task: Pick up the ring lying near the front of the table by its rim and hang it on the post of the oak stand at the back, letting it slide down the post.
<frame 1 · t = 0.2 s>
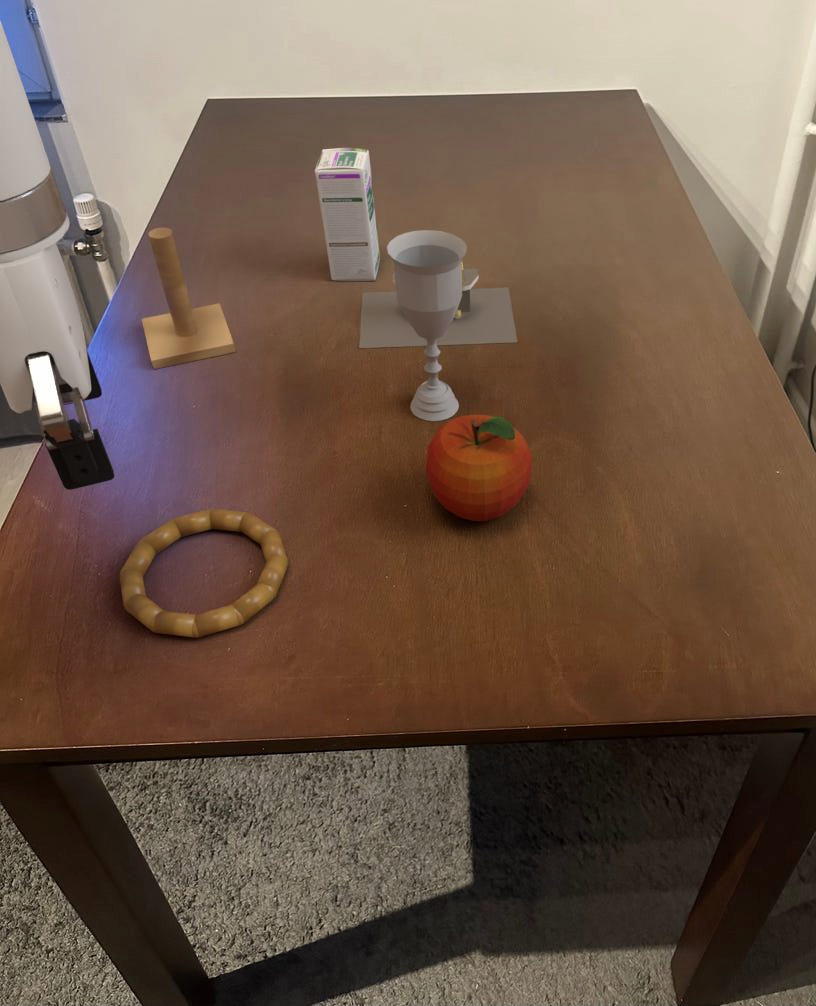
hand: (85, 438, 63), 17 cm above the table, tool pointing down, fingers open, 9 cm apart
post: (189, 339, 102), on the table
ring: (204, 569, 76), point 1 cm above the table
syrup box: (355, 271, 113), on the table
fruit: (478, 502, 83), on the table
chalice: (434, 407, 93), on the table
platform: (437, 317, 105), on the table
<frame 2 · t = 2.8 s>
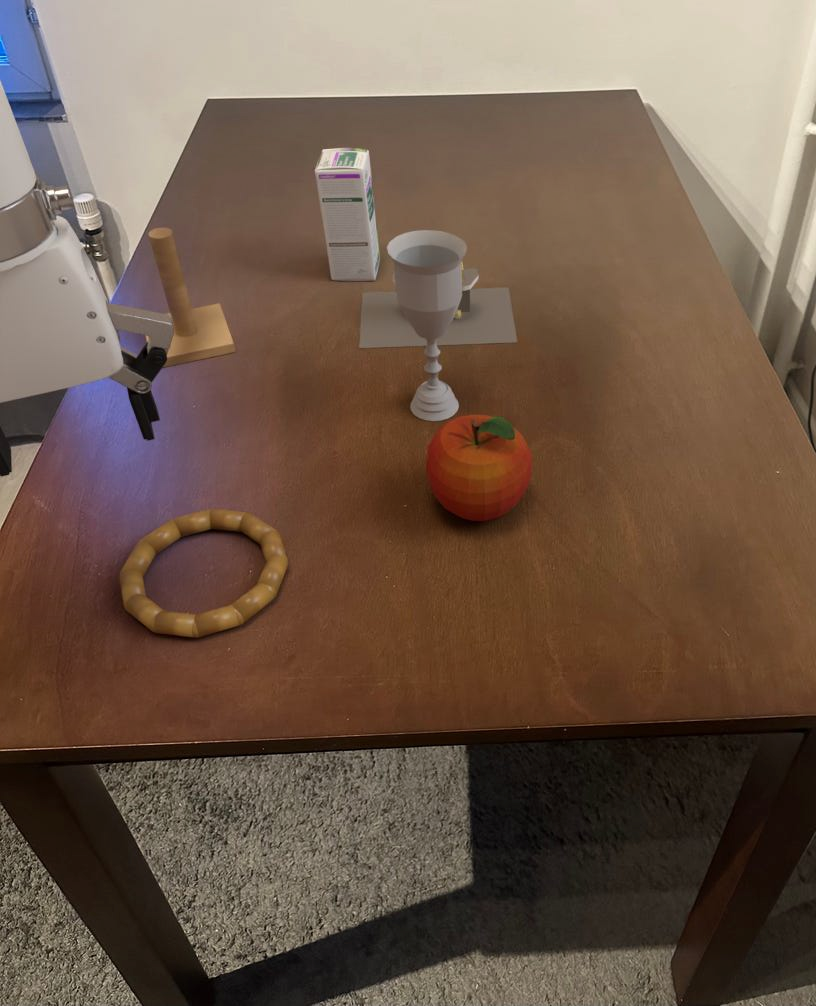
hand: (78, 445, 63), 16 cm above the table, tool pointing down, fingers open, 9 cm apart
nothing on the table moved.
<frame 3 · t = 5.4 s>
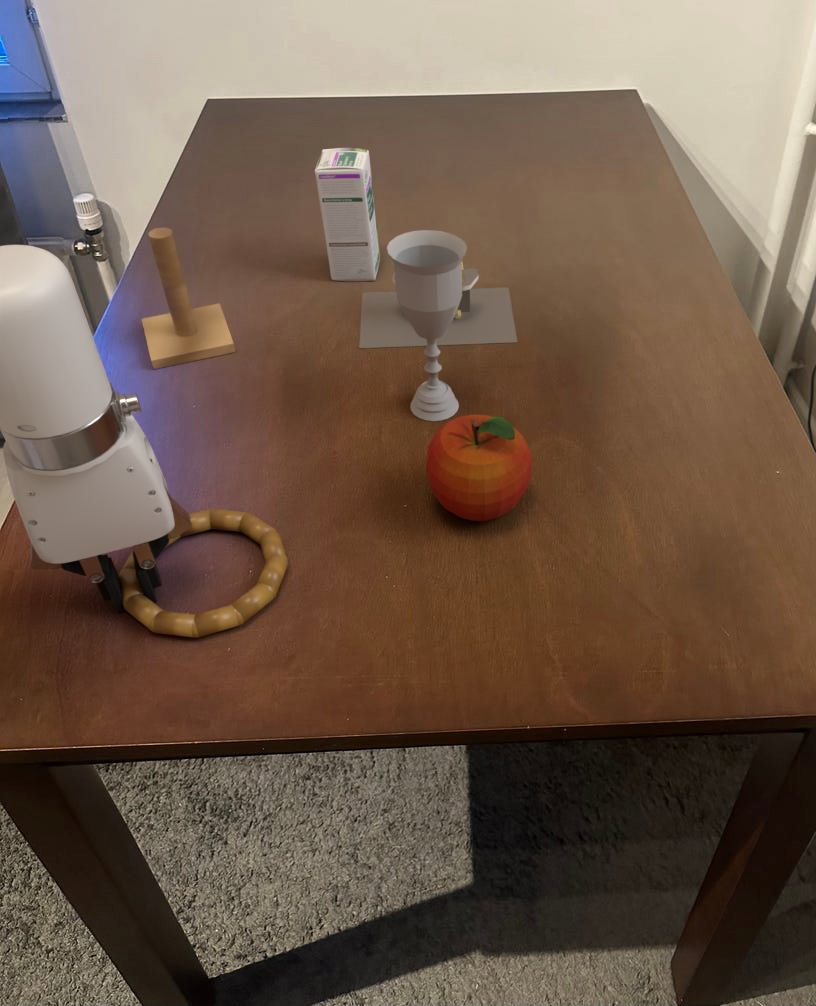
hand: (135, 594, 74), 0 cm above the table, tool pointing down, fingers closed on ring, 1 cm apart
ring: (204, 569, 76), point 1 cm above the table, touching gripper
everything else where it was.
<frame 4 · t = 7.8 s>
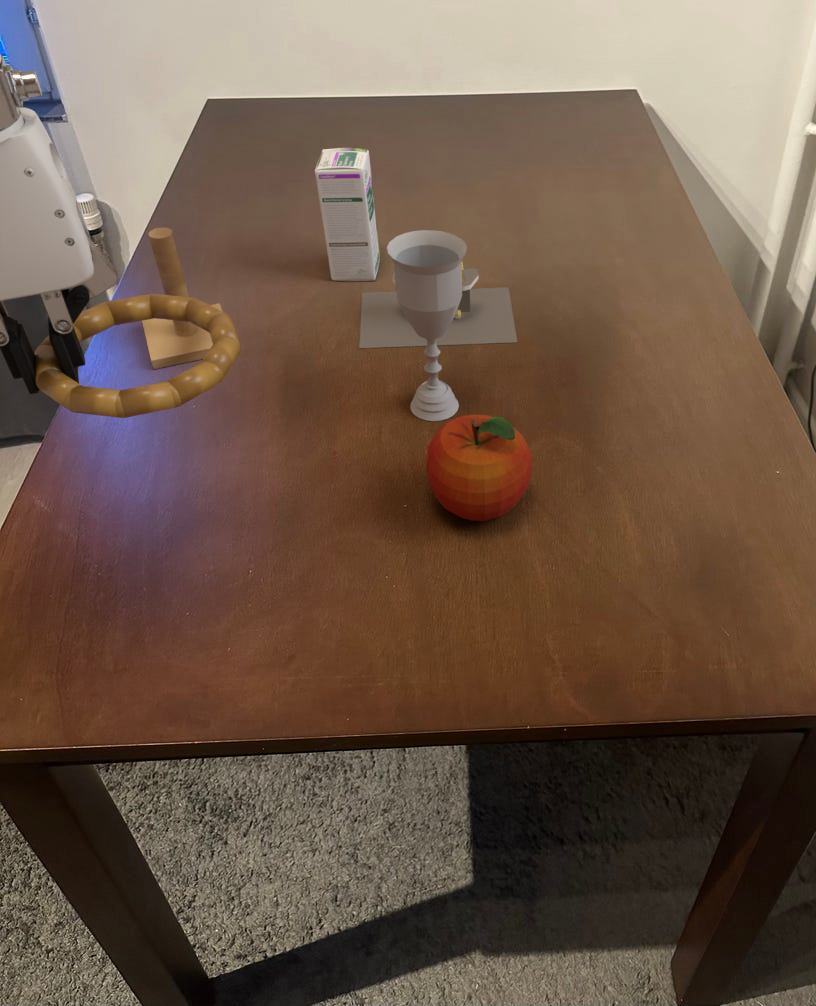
hand: (53, 376, 62), 21 cm above the table, tool pointing down, fingers closed on ring
ring: (139, 351, 63), point 22 cm above the table, touching gripper
everything else where it was.
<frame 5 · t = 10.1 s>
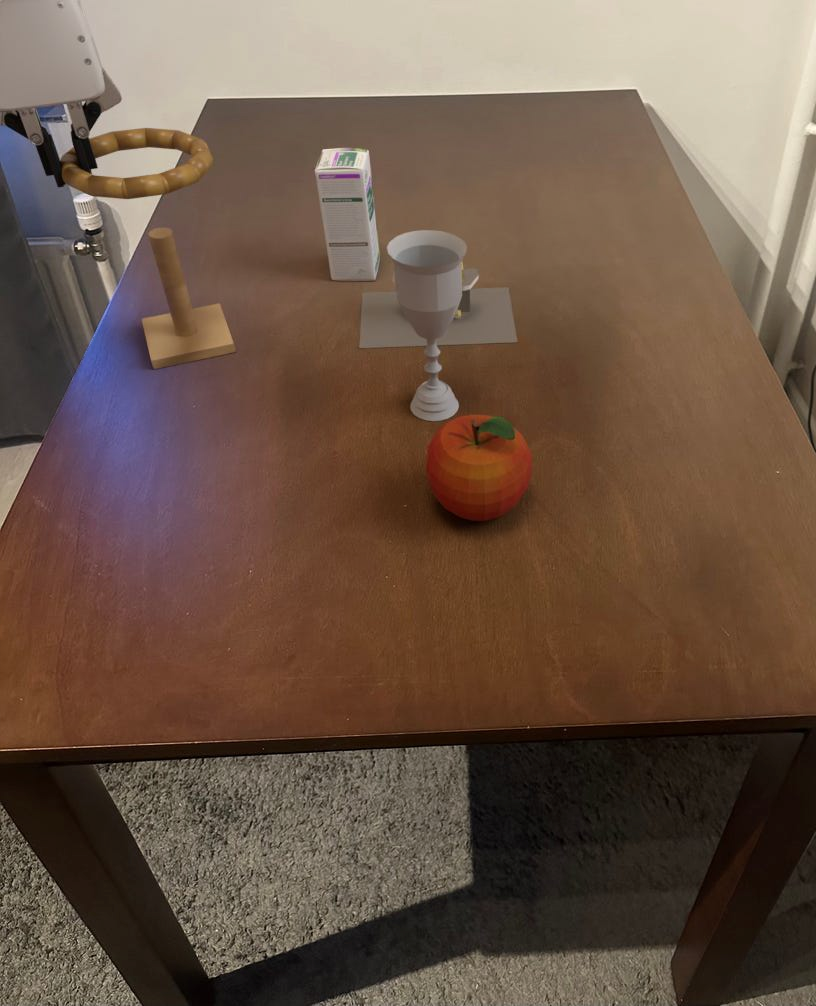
hand: (74, 177, 83), 21 cm above the table, tool pointing down, fingers closed on ring
ring: (137, 161, 84), point 22 cm above the table, touching gripper
everything else where it was.
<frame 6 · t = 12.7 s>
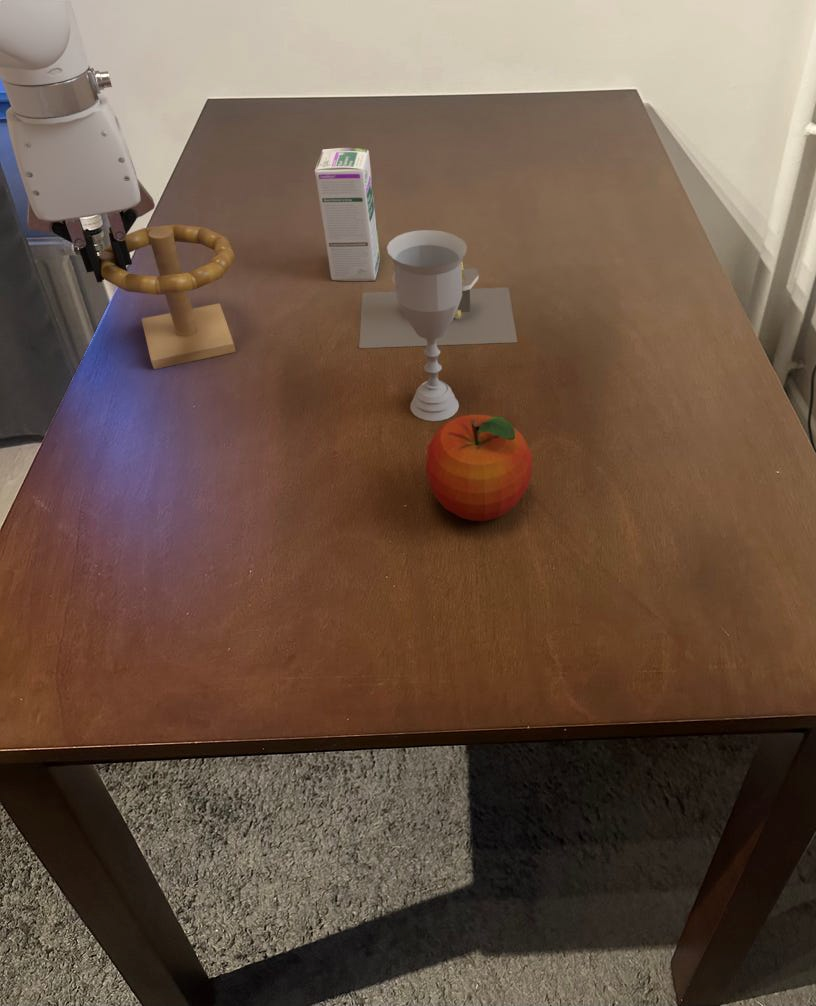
hand: (111, 272, 94), 10 cm above the table, tool pointing down, fingers closed on ring
ring: (167, 258, 95), point 10 cm above the table, touching gripper
everything else where it was.
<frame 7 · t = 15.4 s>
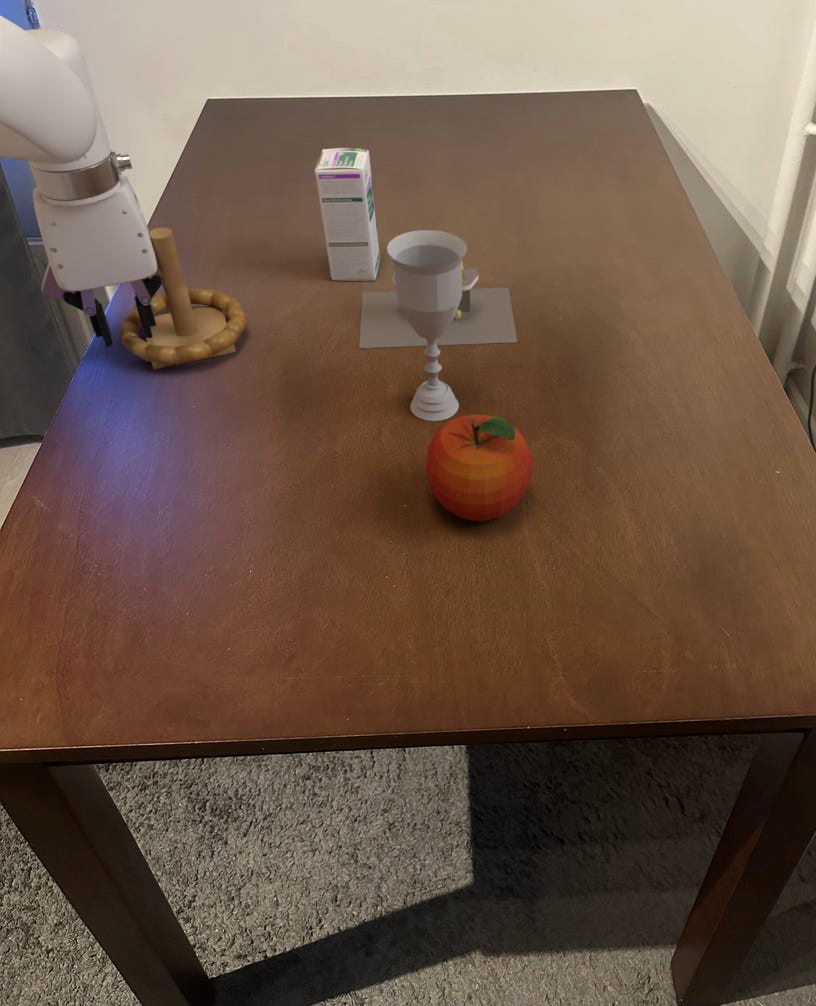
hand: (128, 334, 99), 2 cm above the table, tool pointing down, fingers open, 3 cm apart
ring: (183, 324, 100), point 2 cm above the table, touching post
everything else where it was.
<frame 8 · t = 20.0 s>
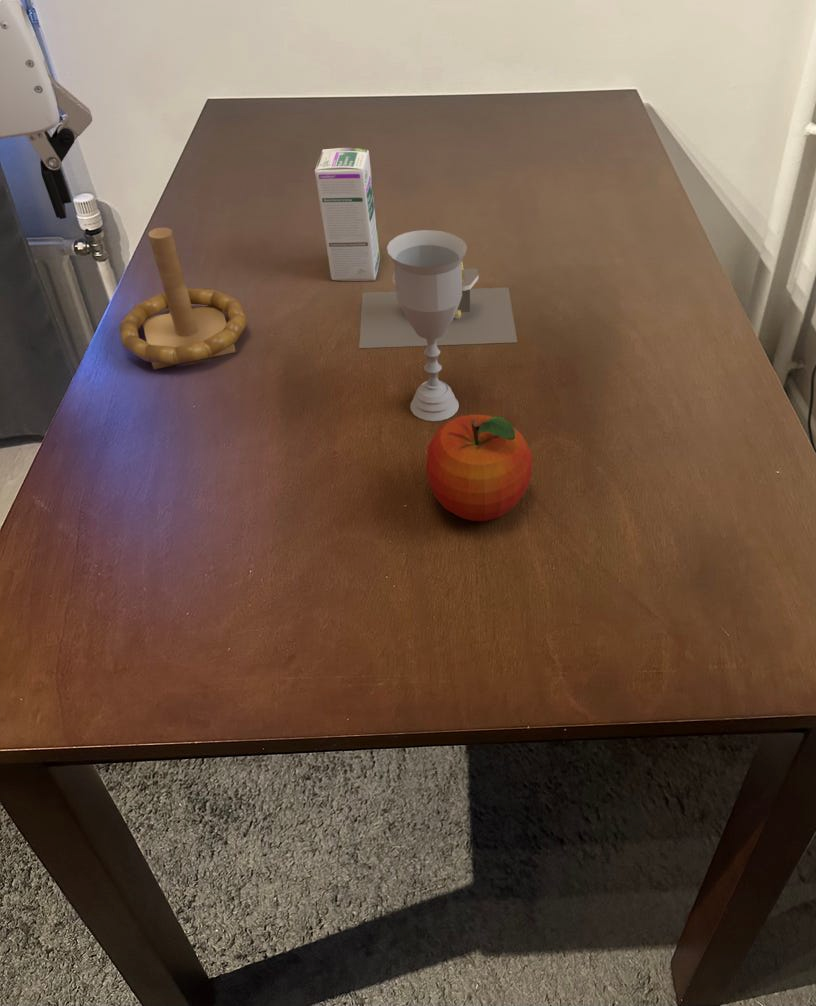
hand: (27, 215, 74), 23 cm above the table, tool pointing down, fingers open, 4 cm apart
nothing on the table moved.
at the end: ring 0.1 cm from the post (horizontally); ring point 2.1 cm above the table; the gripper is holding nothing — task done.
